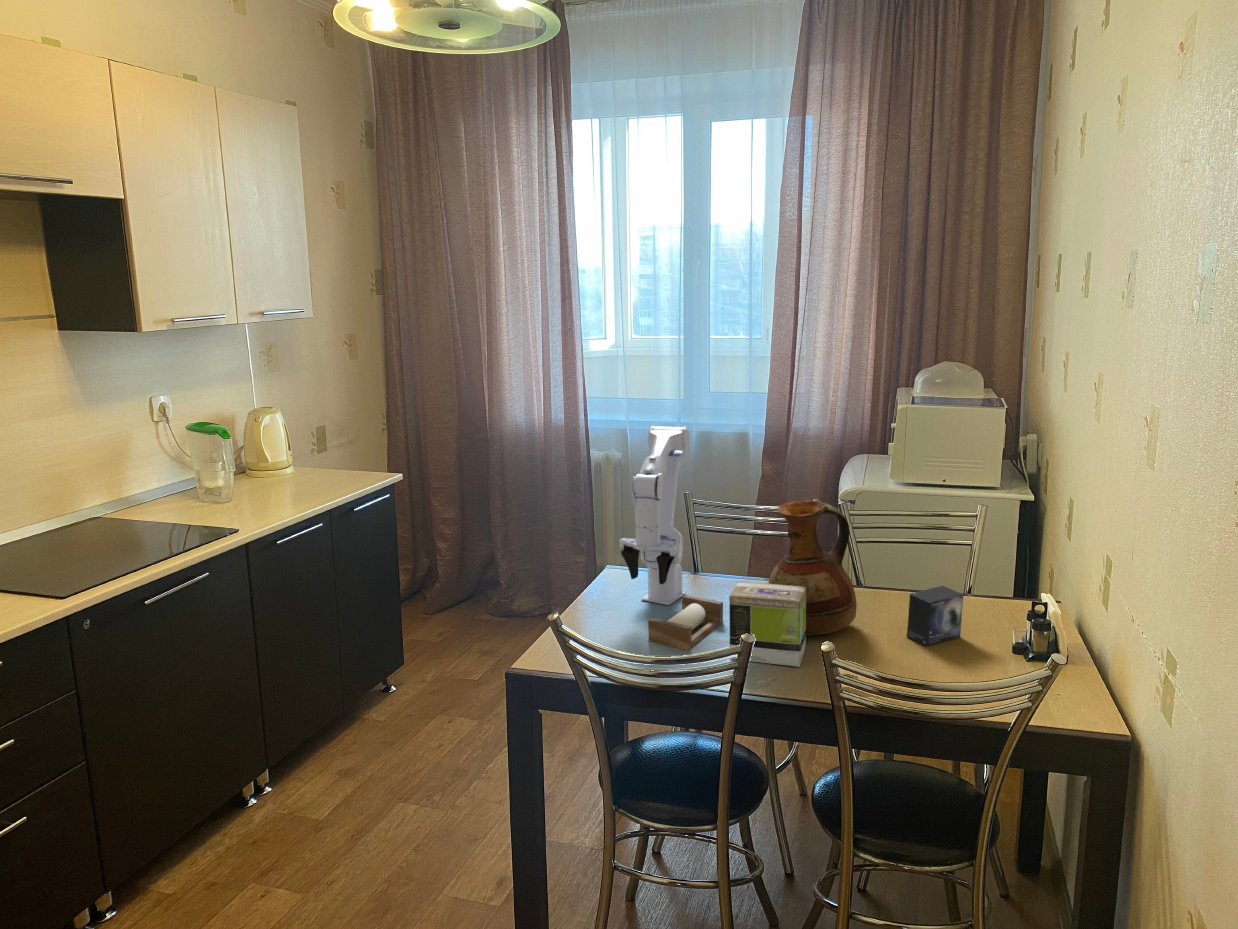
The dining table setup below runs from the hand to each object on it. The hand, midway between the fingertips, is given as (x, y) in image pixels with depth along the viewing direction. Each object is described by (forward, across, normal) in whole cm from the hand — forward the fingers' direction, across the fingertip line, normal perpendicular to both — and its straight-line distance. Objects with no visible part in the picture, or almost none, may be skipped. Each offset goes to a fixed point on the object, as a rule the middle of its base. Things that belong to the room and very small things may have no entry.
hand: (648, 580), depth 212 cm
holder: (+10, +11, -2) cm, 15 cm away
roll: (+8, +11, -2) cm, 13 cm away
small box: (+10, +61, +21) cm, 65 cm away
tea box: (+10, +32, -5) cm, 34 cm away
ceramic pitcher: (+10, +35, +14) cm, 39 cm away
